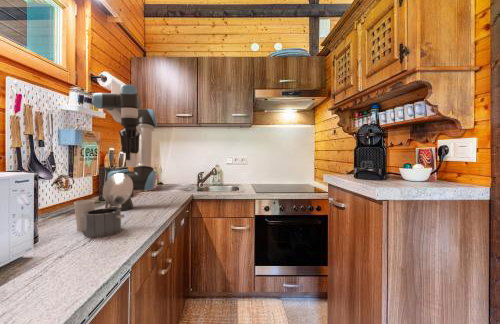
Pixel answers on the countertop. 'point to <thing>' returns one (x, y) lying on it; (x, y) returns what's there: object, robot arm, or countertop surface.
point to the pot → (102, 222)
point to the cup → (82, 211)
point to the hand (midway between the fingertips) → (131, 166)
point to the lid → (117, 189)
